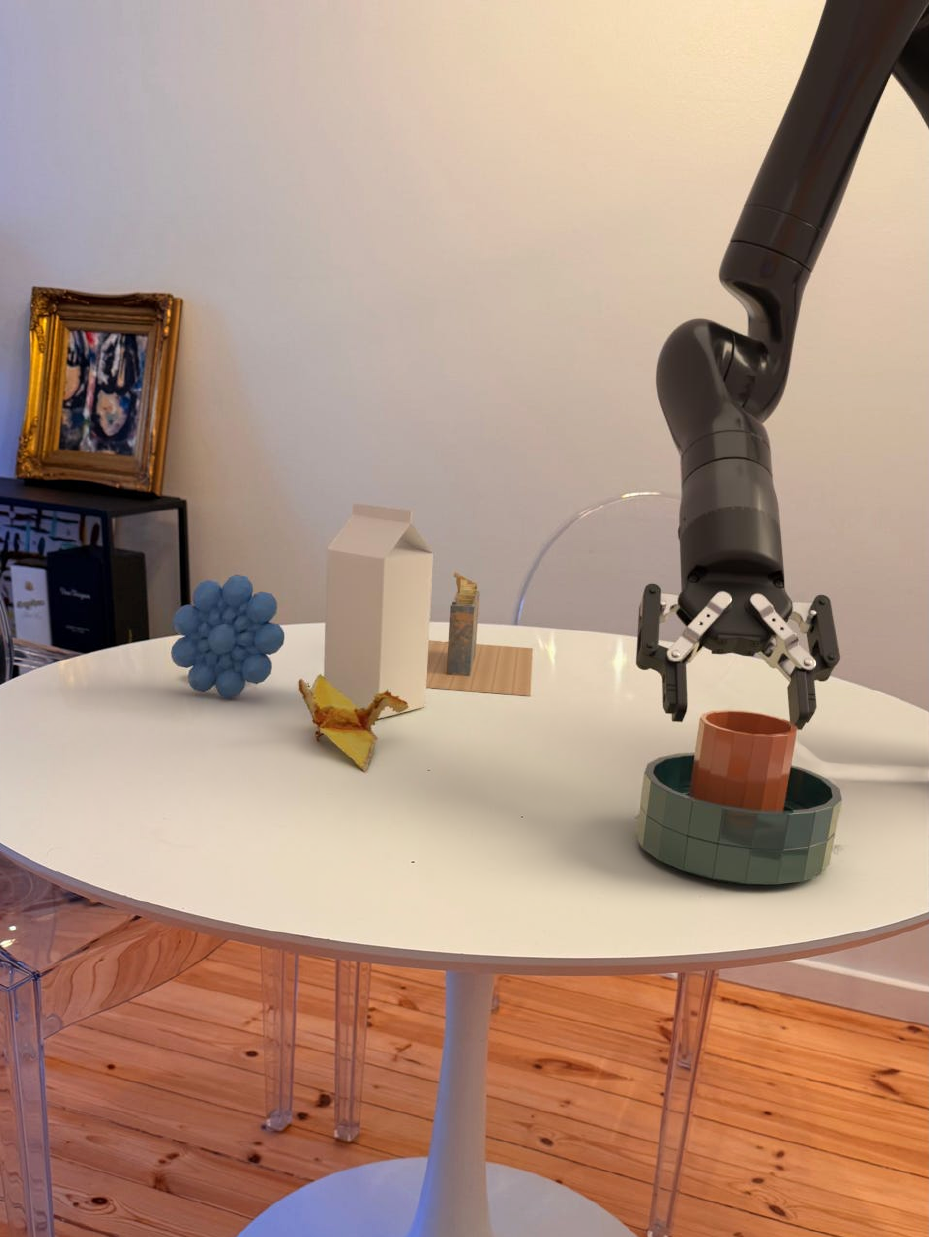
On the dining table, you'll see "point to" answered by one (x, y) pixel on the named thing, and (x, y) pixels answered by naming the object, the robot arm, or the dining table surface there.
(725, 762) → the cup
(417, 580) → the milk carton
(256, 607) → the blue sphere cluster flower
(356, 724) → the origami crane
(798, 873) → the bowl
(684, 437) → the robot arm
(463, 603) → the rusty post on board
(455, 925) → the dining table surface
